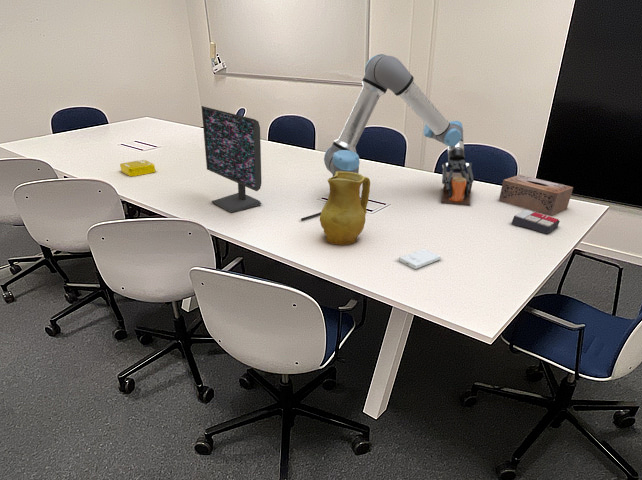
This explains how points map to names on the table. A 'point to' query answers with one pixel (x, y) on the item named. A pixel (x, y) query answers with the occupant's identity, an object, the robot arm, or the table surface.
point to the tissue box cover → (535, 194)
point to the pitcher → (345, 208)
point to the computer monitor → (233, 154)
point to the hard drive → (419, 258)
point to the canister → (458, 189)
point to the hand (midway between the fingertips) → (458, 196)
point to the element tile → (137, 168)
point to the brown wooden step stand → (446, 193)
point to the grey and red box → (535, 221)
